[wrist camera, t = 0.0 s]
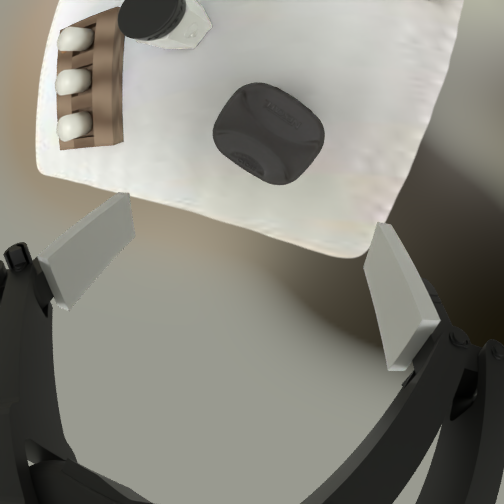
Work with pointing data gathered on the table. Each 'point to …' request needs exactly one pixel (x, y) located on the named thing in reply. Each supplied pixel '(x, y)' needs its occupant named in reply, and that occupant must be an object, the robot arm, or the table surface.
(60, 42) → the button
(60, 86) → the button middle
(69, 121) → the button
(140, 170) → the table surface
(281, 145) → the coffee jar
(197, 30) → the jar
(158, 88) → the table surface
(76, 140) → the button board
